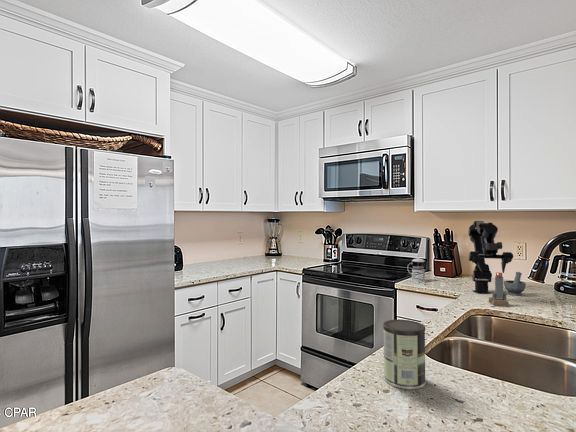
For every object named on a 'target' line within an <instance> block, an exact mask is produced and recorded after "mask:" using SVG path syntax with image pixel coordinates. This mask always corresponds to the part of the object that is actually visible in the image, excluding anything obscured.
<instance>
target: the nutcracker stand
mask: <svg viewBox="0 0 576 432" xmlns="http://www.w3.org/2000/svg"><path fill="white" fill-rule="evenodd" d="M488 303H489V304H490V305H492V306H493V307H505V308H506V307H507V308H509V301H508V300H507V293H504V292H503V298H496V294H495V292H492V295H491V296H489V297H488Z"/></svg>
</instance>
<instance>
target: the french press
mask: <svg viewBox="0 0 576 432" xmlns="http://www.w3.org/2000/svg"><path fill="white" fill-rule="evenodd" d="M416 246H420V243H417V244H416ZM413 263H425V260H424V259H422V258H419V257H416V258H413V259H412V260H411V262H410V263H409V264H407V271H408V274H410V275H411V280H412V281H415V282H425V281H426V279H425V277H426V276H425V275H426V274H425V272H426V271H425V270H426V269H425V267H424V266H421V265H420V266H419V265H414V266H412V269H411V271H410V270H409V265H410V264H413Z"/></svg>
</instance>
